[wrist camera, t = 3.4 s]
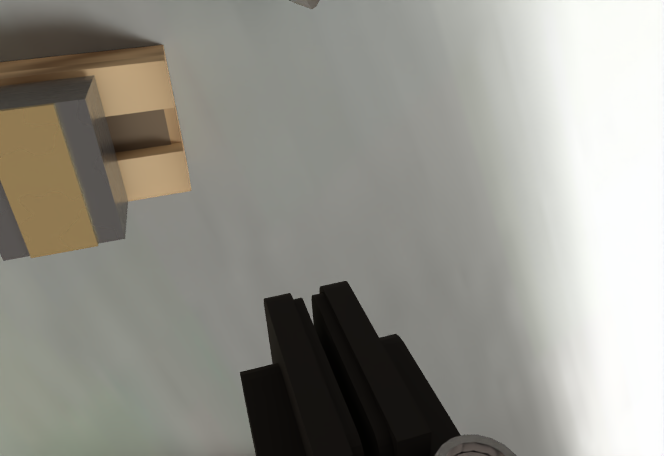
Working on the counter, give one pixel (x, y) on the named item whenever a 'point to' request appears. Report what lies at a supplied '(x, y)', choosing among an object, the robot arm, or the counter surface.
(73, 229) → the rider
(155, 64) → the rail
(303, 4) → the egg carton
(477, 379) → the counter surface
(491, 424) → the counter surface
